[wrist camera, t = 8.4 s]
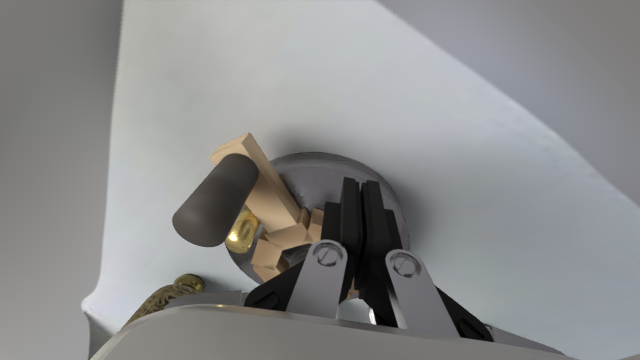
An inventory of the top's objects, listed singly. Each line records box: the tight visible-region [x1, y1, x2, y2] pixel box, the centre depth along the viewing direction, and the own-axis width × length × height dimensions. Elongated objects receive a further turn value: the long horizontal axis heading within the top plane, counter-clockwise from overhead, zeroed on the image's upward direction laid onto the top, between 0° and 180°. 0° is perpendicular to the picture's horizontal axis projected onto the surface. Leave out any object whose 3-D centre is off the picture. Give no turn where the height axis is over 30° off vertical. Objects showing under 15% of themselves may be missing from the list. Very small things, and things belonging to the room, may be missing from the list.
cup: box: [122, 275, 205, 328], centre depth 28 cm, size 8×7×8 cm
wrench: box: [172, 132, 359, 298], centre depth 17 cm, size 16×10×7 cm, turn 26°
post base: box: [224, 152, 410, 300], centre depth 20 cm, size 16×16×10 cm
